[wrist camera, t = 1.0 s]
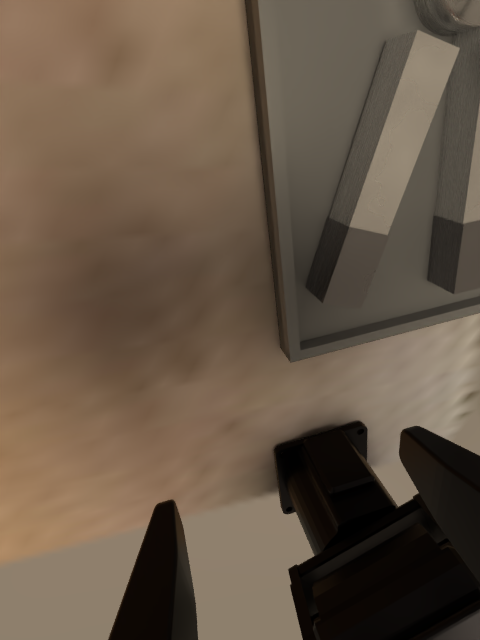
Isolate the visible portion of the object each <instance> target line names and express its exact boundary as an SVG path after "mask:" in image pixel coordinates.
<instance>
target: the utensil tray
mask: <svg viewBox="0 0 480 640" xmlns="http://www.w3.org/2000/svg"><path fill="white" fill-rule="evenodd" d="M245 4H246V13H247V23H248V33H249V43H250V53H251V62H252V72H253V82H254V92H255V101H256V111H257V121H258V131H259V141H260V150H261V160H262V170H263V180H264V189H265V199H266V209H267V219H268V228H269V238H270V248H271V258H272V268H273V277H274V287H275V297H276V307H277V316H278V326H279V336H280V346H281V349H282V351H283V352H284V354H285V355H286V357H287V358H288V360H289V361H290V363H291V362H295V361H299V360H303V359H307V358H310V357H314V356H318V355H322V354H326V353H329V352H333V351H337V350H341V349H345V348H348V347H352V346H356V345H360V344H364V343H367V342H371V341H375V340H379V339H383V338H386V337H390V336H394V335H398V334H402V333H405V332H409V331H413V330H417V329H421V328H424V327H428V326H432V325H436V324H440V323H444V322H447V321H451V320H455V319H459V318H463V317H466V316H470V315H474V314H478V313H480V288H478V289H474V290H470V291H466V292H462V293H458V294H452V293H450V292H448V291H446V290H445V289H443V288H441V287H439V286H437V285H435V284H433V283H431V282H429V281H428V280H427V275H428V265H429V255H430V245H431V235H432V225H433V216H434V214H435V204H436V194H437V184H438V174H439V165H440V155H441V145H442V135H443V125H444V115H445V105H446V95H447V86H448V81H447V83H446V86H445V88H444V91H443V93H442V96H441V99H440V101H439V104H438V106H437V109H436V111H435V114H434V117H433V119H432V122H431V124H430V127H429V129H428V132H427V135H426V137H425V140H424V142H423V145H422V147H421V150H420V153H419V155H418V158H417V160H416V163H415V165H414V168H413V171H412V173H411V176H410V178H409V181H408V183H407V186H406V189H405V191H404V194H403V196H402V199H401V201H400V204H399V207H398V209H397V212H396V214H395V217H394V219H393V222H392V225H391V227H390V230H389V232H388V235H389V239H388V241H387V244H386V246H385V249H384V252H383V254H382V257H381V259H380V262H379V264H378V267H377V269H376V272H375V275H374V277H373V280H372V282H371V285H370V287H369V290H368V292H367V295H366V298H365V300H364V303H363V305H362V308H361V309H357V308H350V307H343V306H336V305H329V304H323V303H322V302H320V301H319V300H318V299H317V298H316V297H315V296H314V295H313V294H312V293H311V292H310V291H309V290H308V289H307V288H306V287H305V286H306V283H307V280H308V277H309V274H310V271H311V268H312V265H313V262H314V259H315V256H316V252H317V249H318V246H319V243H320V240H321V237H322V234H323V231H324V228H325V225H326V221H327V218H328V217H329V215H330V212H331V209H332V206H333V203H334V200H335V197H336V194H337V191H338V187H339V184H340V181H341V178H342V175H343V172H344V169H345V166H346V163H347V160H348V157H349V154H350V150H351V147H352V144H353V141H354V138H355V135H356V132H357V129H358V126H359V123H360V120H361V116H362V113H363V110H364V107H365V104H366V101H367V98H368V95H369V92H370V89H371V86H372V83H373V79H374V76H375V73H376V70H377V67H378V64H379V61H380V58H381V55H382V52H383V49H384V45H385V42H386V40H388V39H391V38H394V37H397V36H400V35H403V34H406V33H409V32H412V31H415V30H419V31H422V32H424V33H426V34H429V35H431V36H433V37H435V38H438V39H440V40H442V41H445V42H447V43H449V44H451V45H452V36H453V35H450V36H440V35H436V34H434V33H432V32H430V31H429V30H428V29H427V28H426V27H425V26H424V25H423V24H422V22H421V21H420V19H419V17H418V15H417V12H416V9H415V4H414V0H245Z"/></svg>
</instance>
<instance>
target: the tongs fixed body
mask: <svg viewBox="0 0 480 640" xmlns="http://www.w3.org/2000/svg"><path fill="white" fill-rule="evenodd" d="M414 4H415V9H416V12H417V15H418V17H419V19H420V21H421V22H422V24H423V25H424V26H425V27H426V28H427V29H428V30H429V31H430V32H432V33H434V34H436V35H440V36H450V35H453V36H452V45H454V46H456V47H458V48H460V50H459V52H458V55H457V57H456V60H455V63H454V65H453V68H452V70H451V73H450V75H449V78H448V86H447V95H446V105H445V115H444V125H443V135H442V145H441V155H440V165H439V174H438V184H437V194H436V204H435V214H434V216H433V225H432V235H431V245H430V255H429V265H428V275H427V280H428V281H429V282H431V283H433V284H435V285H437V286H439V287H441V288H443V289H445V290H446V291H448V292H450V293H452V294H458V293H462V292H466V291H470V290H474V289H478V288H480V0H414Z"/></svg>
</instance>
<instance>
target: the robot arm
mask: <svg viewBox="0 0 480 640" xmlns="http://www.w3.org/2000/svg"><path fill="white" fill-rule="evenodd" d="M282 452H283V453H282ZM399 456H400V459H401V462H402V464H403V466H404V467H405V469H406V471H407V472H408V474H409V476H410V478H411V479H412V481H413V483H414V485H415V486H416V488H417V490H418V492H419V493H418V494H416V495H415V496H413V499H411V500H410V501H408V502H406V503H405V504H403V505H401V506H399V507H398V506H397V504H396V503H395V502H394V500H393V499H392V497H391V496H390V494H389V493H388V491H387V490H386V489H385V487H384V486H383V484H382V483H381V481H380V480H379V478H378V477H377V476H376V474H375V473H374V471H373V470H372V468H371V467H370V466H369V464H368V463H367V427H366V426H365V425H364V424H363V423H362V422H357V423H354V424H350V425H347V426H343V427H340V428H337V429H333V430H330V431H327V432H323V433H320V434H316V435H313V436H310V437H306V438H303V439H299V440H296V441H293V442H289V443H286V444H283V445H280V446H277V447H276V448H275V450H274V458H275V465H276V473H277V480H278V488H279V496H280V503H281V508H282V511H283V513H284V514H291V513H293V512H296V513H297V515H298V517H299V520H300V522H301V525H302V527H303V529H304V532H305V534H306V537H307V539H308V541H309V544H310V546H311V548H312V550H313V553H314V555H315V556H314V557H312V558H310V559H308V560H307V561H305V562H303V563H302V564H300V565H294V566H293V567H291V568H289V575H290V579H291V583H292V584H291V585H290V587H291V592H292V596H293V600H294V604H295V608H296V612H297V617H298V621H299V625H300V629H301V633H302V638H303V640H480V456H479V455H477V454H475V453H473V452H471V451H469V450H467V449H465V448H463V447H461V446H459V445H457V444H455V443H453V442H451V441H449V440H447V439H445V438H443V437H441V436H438V435H436V434H434V433H432V432H430V431H428V430H426V429H424V428H422V427H420V426H413V427H410V428H406V429H404V430H402V432H401V436H400V448H399ZM108 640H198V632H197V616H196V603H195V597H194V589H193V583H192V577H191V571H190V565H189V560H188V553H187V547H186V542H185V535H184V529H183V525H182V521H181V518H180V515H179V512H178V509H177V506H176V503H175V501H174V500H168V501H165V502H161V503H158V504H157V505H156V506H155V508H154V511H153V514H152V517H151V519H150V522H149V525H148V528H147V531H146V534H145V536H144V539H143V542H142V545H141V548H140V551H139V554H138V556H137V559H136V562H135V565H134V568H133V571H132V573H131V576H130V579H129V582H128V585H127V588H126V591H125V593H124V596H123V599H122V602H121V605H120V608H119V610H118V613H117V616H116V619H115V622H114V625H113V627H112V630H111V633H110V636H109V639H108Z"/></svg>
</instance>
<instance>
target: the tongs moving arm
mask: <svg viewBox="0 0 480 640" xmlns="http://www.w3.org/2000/svg"><path fill="white" fill-rule="evenodd" d="M459 50H460V48H458V47H456V46H454V45H451V44H449V43H447V42H445V41H442V40H440V39H438V38H435V37H433V36H431V35H429V34H426V33H424V32H422V31H419V30H415V31H412V32H409V33H406V34H403V35H400V36H397V37H394V38H391V39H388V40H386V42H385V45H384V49H383V52H382V55H381V58H380V61H379V64H378V67H377V70H376V73H375V76H374V79H373V83H372V86H371V89H370V92H369V95H368V98H367V101H366V104H365V107H364V110H363V113H362V116H361V120H360V123H359V126H358V129H357V132H356V135H355V138H354V141H353V144H352V147H351V150H350V154H349V157H348V160H347V163H346V166H345V169H344V172H343V175H342V178H341V181H340V184H339V187H338V191H337V194H336V197H335V200H334V203H333V206H332V209H331V212H330V215H329V217H328V218H327V221H326V225H325V228H324V231H323V234H322V237H321V240H320V243H319V246H318V249H317V252H316V256H315V259H314V262H313V265H312V268H311V271H310V274H309V277H308V280H307V283H306V286H305V287H306V288H307V289H308V290H309V291H310V292H311V293H312V294H313V295H314V296H315V297H316V298H317V299H318V300H319V301H320V302H322V303H323V304H329V305H336V306H343V307H350V308H357V309H361V308H362V305H363V303H364V300H365V298H366V295H367V292H368V290H369V287H370V285H371V282H372V280H373V277H374V275H375V272H376V269H377V267H378V264H379V262H380V259H381V257H382V254H383V252H384V249H385V246H386V244H387V241H388V239H389V235H388V232H389V230H390V227H391V225H392V222H393V219H394V217H395V214H396V212H397V209H398V207H399V204H400V201H401V199H402V196H403V194H404V191H405V189H406V186H407V183H408V181H409V178H410V176H411V173H412V171H413V168H414V165H415V163H416V160H417V158H418V155H419V153H420V150H421V147H422V145H423V142H424V140H425V137H426V135H427V132H428V129H429V127H430V124H431V122H432V119H433V117H434V114H435V111H436V109H437V106H438V104H439V101H440V99H441V96H442V93H443V91H444V88H445V86H446V83H447V81H448V78H449V75H450V73H451V70H452V68H453V65H454V63H455V60H456V57H457V55H458V52H459Z"/></svg>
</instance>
